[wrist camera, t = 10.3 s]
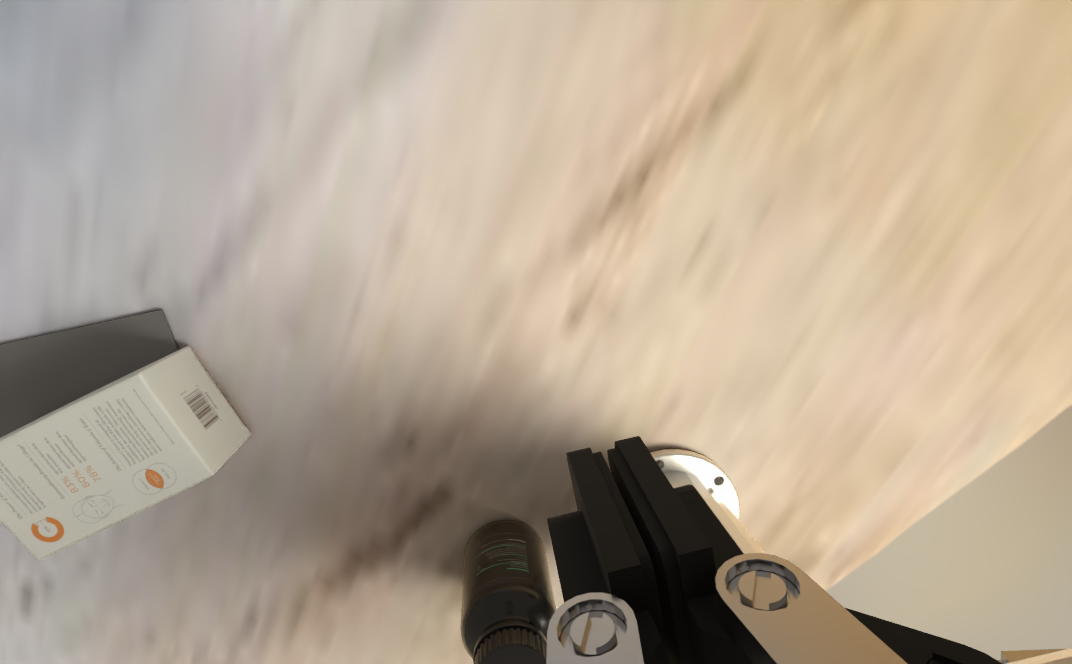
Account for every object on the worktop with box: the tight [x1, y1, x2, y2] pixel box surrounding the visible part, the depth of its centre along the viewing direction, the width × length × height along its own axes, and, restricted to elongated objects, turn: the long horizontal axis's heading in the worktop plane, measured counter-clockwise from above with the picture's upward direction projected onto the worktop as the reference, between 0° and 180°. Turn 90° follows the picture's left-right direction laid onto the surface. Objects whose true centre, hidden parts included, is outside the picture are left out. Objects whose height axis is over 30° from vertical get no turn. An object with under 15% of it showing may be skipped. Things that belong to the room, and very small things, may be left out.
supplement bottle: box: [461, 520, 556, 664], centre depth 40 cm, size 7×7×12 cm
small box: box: [0, 346, 251, 560], centre depth 36 cm, size 8×6×13 cm
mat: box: [0, 309, 179, 438], centre depth 39 cm, size 12×14×1 cm
